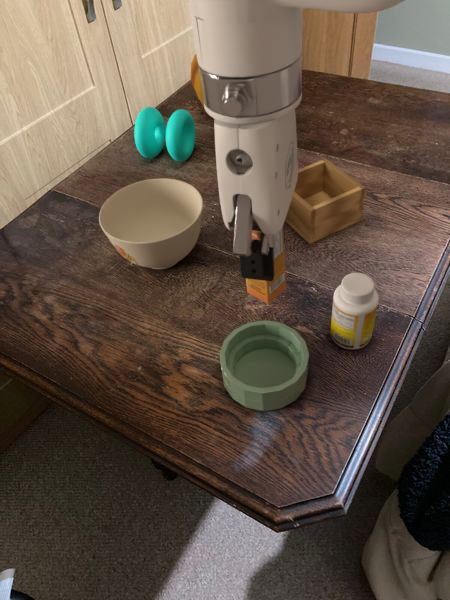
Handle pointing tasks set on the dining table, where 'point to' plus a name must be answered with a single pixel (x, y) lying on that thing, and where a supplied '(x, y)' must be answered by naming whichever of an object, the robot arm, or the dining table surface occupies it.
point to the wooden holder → (324, 201)
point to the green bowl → (264, 365)
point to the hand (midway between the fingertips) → (263, 259)
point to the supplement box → (273, 288)
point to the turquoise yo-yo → (165, 133)
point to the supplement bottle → (354, 311)
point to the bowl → (153, 221)
